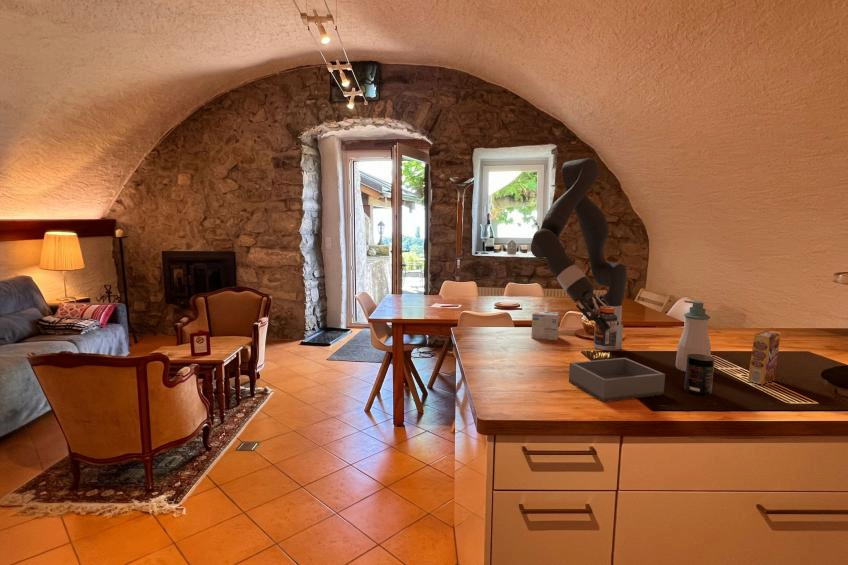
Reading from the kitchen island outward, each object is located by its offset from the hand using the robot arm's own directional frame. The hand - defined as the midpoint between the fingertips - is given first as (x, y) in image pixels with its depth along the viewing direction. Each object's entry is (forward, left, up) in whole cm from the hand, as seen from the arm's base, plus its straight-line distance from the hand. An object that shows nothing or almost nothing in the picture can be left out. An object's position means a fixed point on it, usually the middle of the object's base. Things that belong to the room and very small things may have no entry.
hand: (611, 327), depth 129 cm
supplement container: (-22, +10, -18) cm, 30 cm away
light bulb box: (-12, -56, -18) cm, 60 cm away
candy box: (-49, +8, -18) cm, 53 cm away
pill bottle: (+1, -2, -5) cm, 6 cm away
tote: (-1, +1, -18) cm, 18 cm away
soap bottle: (-37, -6, -18) cm, 42 cm away
